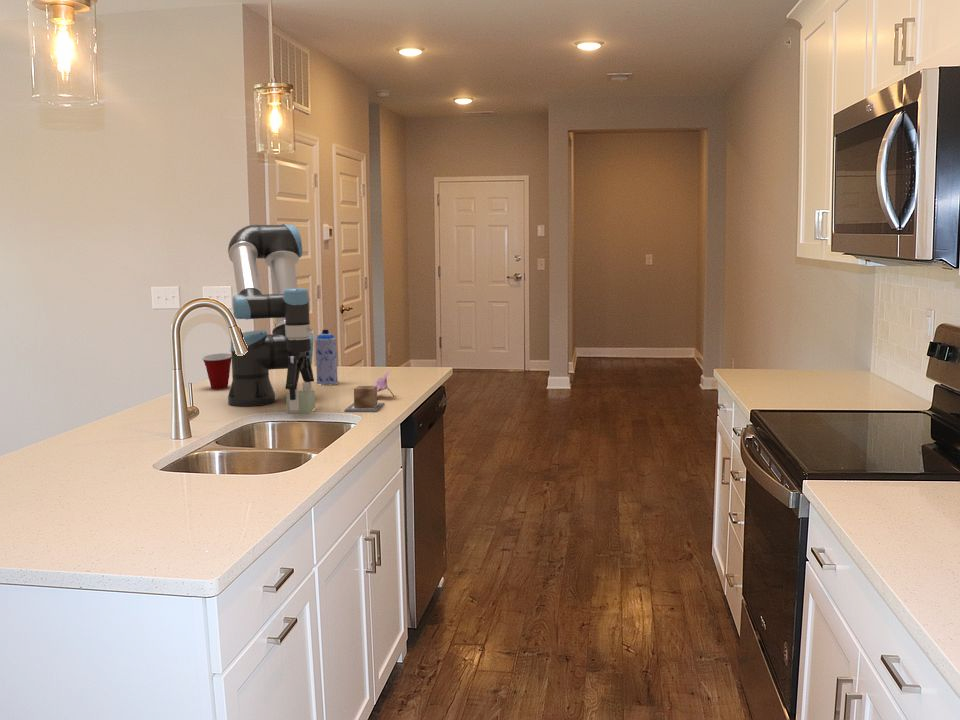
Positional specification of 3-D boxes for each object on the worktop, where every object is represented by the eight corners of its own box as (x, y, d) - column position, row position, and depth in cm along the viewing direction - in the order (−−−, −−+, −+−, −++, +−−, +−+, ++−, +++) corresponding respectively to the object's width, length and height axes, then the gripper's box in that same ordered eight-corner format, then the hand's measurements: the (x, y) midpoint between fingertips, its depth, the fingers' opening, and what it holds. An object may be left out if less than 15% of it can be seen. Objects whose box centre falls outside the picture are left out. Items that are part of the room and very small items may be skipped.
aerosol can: (342, 383, 328) (340, 329, 325) (325, 386, 322) (323, 331, 320) (329, 381, 333) (327, 328, 331) (312, 383, 328) (310, 329, 325)
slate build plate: (344, 411, 276) (344, 409, 276) (354, 404, 287) (354, 402, 287) (376, 412, 274) (376, 410, 274) (384, 404, 286) (384, 402, 286)
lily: (379, 396, 307) (366, 373, 304) (409, 384, 303) (395, 361, 300) (371, 413, 296) (357, 390, 293) (401, 401, 293) (387, 377, 290)
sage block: (286, 413, 274) (286, 394, 274) (293, 409, 281) (292, 390, 281) (309, 413, 274) (308, 394, 273) (315, 409, 281) (314, 390, 280)
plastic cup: (197, 389, 318) (195, 356, 316) (215, 384, 328) (213, 352, 326) (223, 391, 314) (221, 357, 313) (240, 386, 324) (238, 353, 323)
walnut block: (354, 407, 278) (353, 389, 277) (359, 404, 284) (358, 385, 283) (373, 408, 277) (372, 389, 277) (377, 404, 283) (376, 385, 282)
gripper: (297, 342, 262) (300, 413, 264) (321, 334, 286) (324, 399, 289) (272, 342, 262) (276, 413, 265) (298, 334, 287) (301, 399, 290)
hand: (301, 406), depth 277 cm, fingers open, 13 cm apart
